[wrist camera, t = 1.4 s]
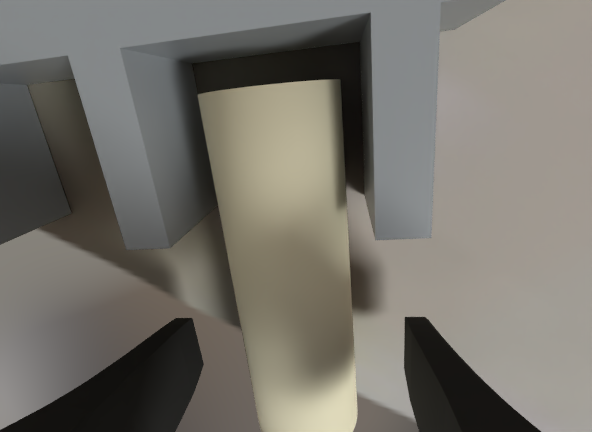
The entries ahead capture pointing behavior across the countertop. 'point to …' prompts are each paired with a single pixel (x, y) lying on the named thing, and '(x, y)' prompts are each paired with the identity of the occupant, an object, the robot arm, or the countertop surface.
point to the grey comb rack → (185, 106)
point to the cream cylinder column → (288, 246)
